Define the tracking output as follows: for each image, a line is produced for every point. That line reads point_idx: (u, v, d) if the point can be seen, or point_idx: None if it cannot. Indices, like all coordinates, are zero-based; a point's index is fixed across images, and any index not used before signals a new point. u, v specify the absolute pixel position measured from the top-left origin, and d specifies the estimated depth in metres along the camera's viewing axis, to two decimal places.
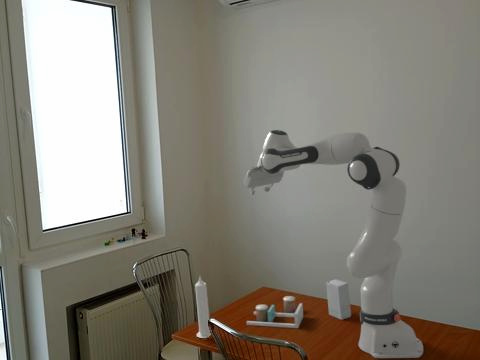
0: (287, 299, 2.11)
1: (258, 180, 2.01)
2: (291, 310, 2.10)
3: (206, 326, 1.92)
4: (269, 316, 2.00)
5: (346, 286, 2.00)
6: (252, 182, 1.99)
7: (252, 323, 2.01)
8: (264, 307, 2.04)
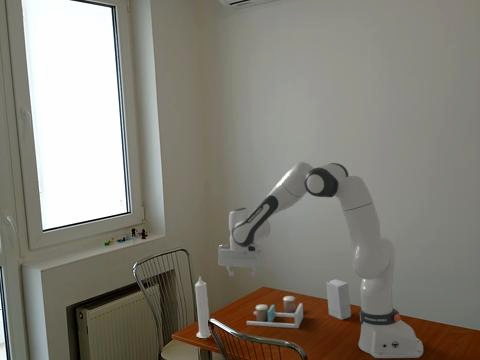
0: (287, 299, 2.11)
1: (228, 259, 2.05)
2: (291, 310, 2.10)
3: (206, 326, 1.92)
4: (269, 316, 2.00)
5: (346, 286, 2.00)
6: (221, 260, 2.06)
7: (252, 323, 2.01)
8: (264, 307, 2.04)
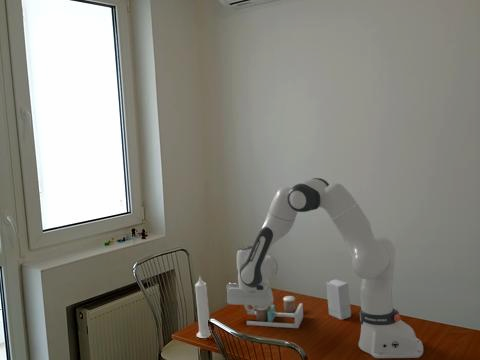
0: (287, 299, 2.11)
1: (237, 297, 2.06)
2: (291, 310, 2.10)
3: (206, 326, 1.92)
4: (269, 316, 2.00)
5: (346, 286, 2.00)
6: (229, 298, 2.07)
7: (252, 323, 2.01)
8: (264, 307, 2.04)
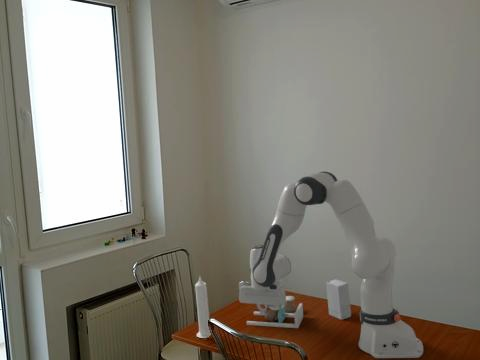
0: (287, 299, 2.11)
1: (249, 296, 2.04)
2: (292, 310, 2.10)
3: (206, 326, 1.92)
4: (279, 317, 1.99)
5: (346, 286, 2.00)
6: (242, 297, 2.05)
7: (252, 323, 2.01)
8: (276, 307, 2.02)
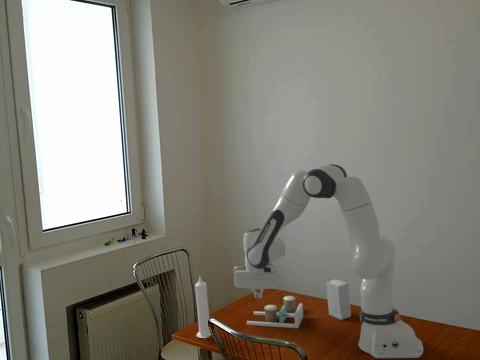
0: (288, 299, 2.11)
1: (244, 280, 2.04)
2: (292, 310, 2.11)
3: (206, 326, 1.92)
4: (281, 317, 1.99)
5: (346, 286, 2.00)
6: (237, 281, 2.05)
7: (252, 323, 2.01)
8: (273, 307, 2.03)
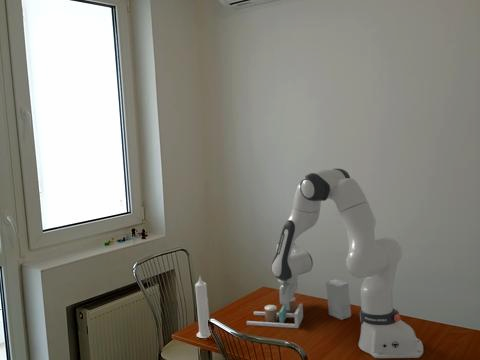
0: None
1: (290, 293, 2.06)
2: (293, 310, 2.11)
3: (206, 326, 1.92)
4: (281, 317, 1.99)
5: (346, 286, 2.00)
6: (288, 297, 2.03)
7: (252, 323, 2.01)
8: (273, 307, 2.03)
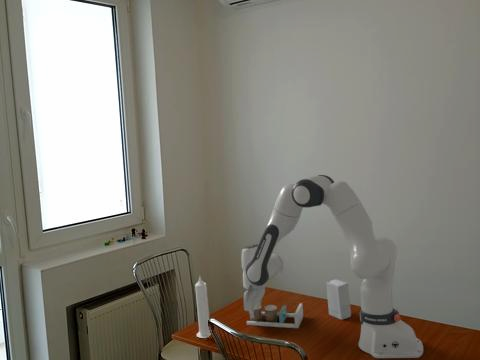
0: None
1: (255, 299, 2.00)
2: (259, 319, 2.04)
3: (206, 326, 1.92)
4: (281, 317, 1.99)
5: (346, 286, 2.00)
6: (252, 304, 1.97)
7: (252, 323, 2.01)
8: (273, 307, 2.03)
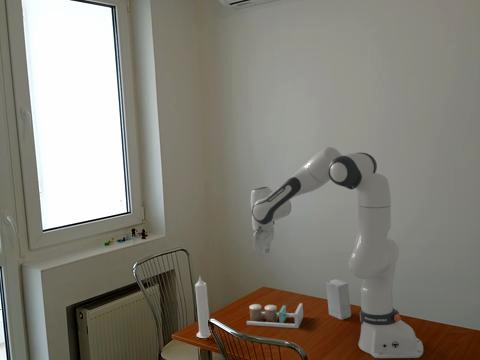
0: (254, 307, 2.04)
1: (264, 240, 2.00)
2: (259, 319, 2.04)
3: (206, 326, 1.92)
4: (281, 317, 1.99)
5: (346, 286, 2.00)
6: (262, 244, 1.97)
7: (252, 323, 2.01)
8: (273, 307, 2.03)
